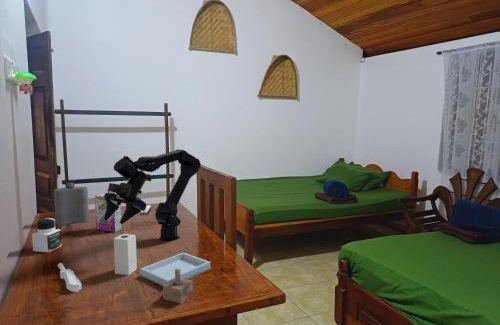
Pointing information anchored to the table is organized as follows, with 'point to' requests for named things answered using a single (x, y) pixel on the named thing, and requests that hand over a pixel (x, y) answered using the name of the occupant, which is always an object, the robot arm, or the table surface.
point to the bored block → (125, 254)
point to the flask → (71, 205)
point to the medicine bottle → (46, 236)
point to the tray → (166, 268)
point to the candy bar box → (101, 223)
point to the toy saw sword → (69, 279)
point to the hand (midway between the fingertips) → (112, 221)
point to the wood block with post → (178, 288)
